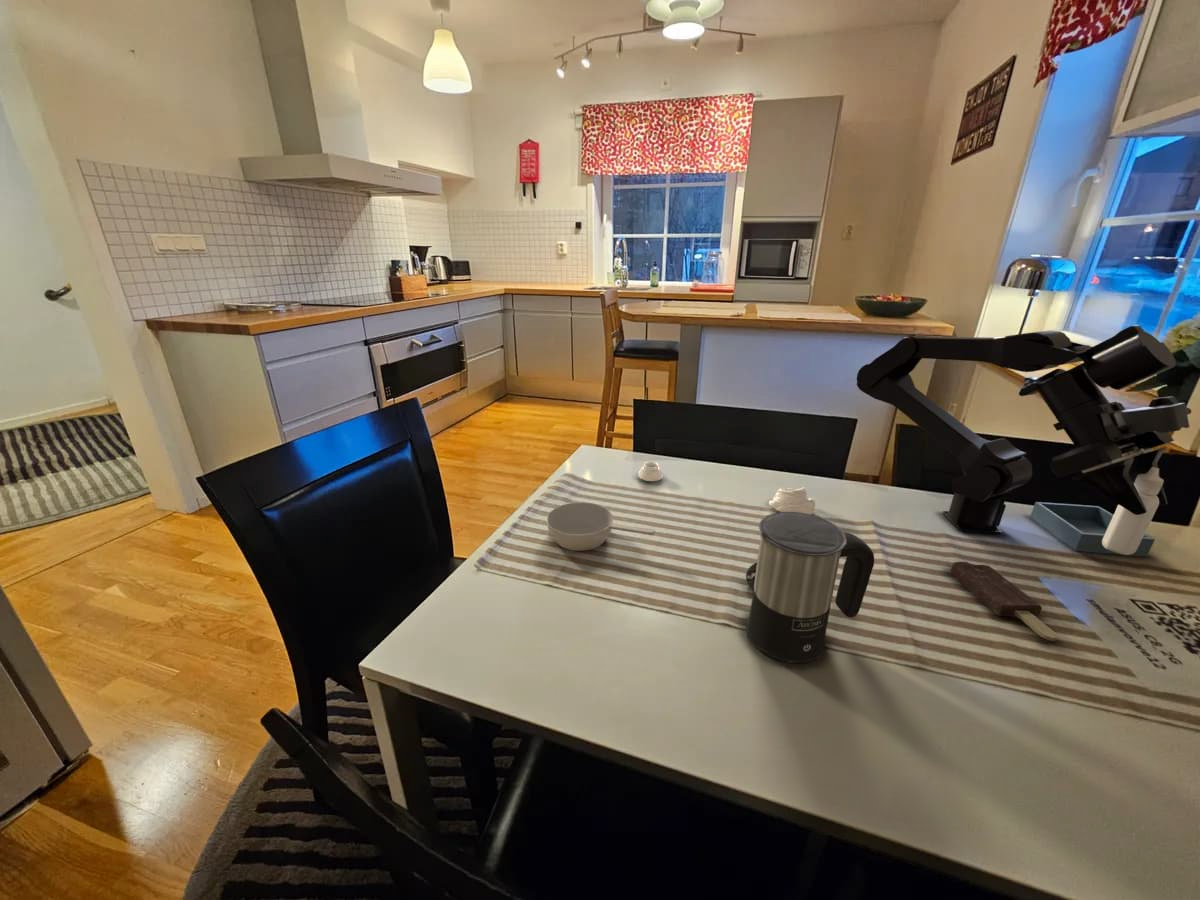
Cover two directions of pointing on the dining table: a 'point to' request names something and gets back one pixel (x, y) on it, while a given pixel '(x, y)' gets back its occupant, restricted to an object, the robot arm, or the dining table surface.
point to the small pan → (584, 526)
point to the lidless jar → (650, 472)
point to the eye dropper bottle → (1134, 516)
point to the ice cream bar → (1001, 595)
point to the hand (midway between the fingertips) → (1152, 509)
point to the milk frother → (802, 583)
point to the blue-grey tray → (1081, 526)
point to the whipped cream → (793, 501)
